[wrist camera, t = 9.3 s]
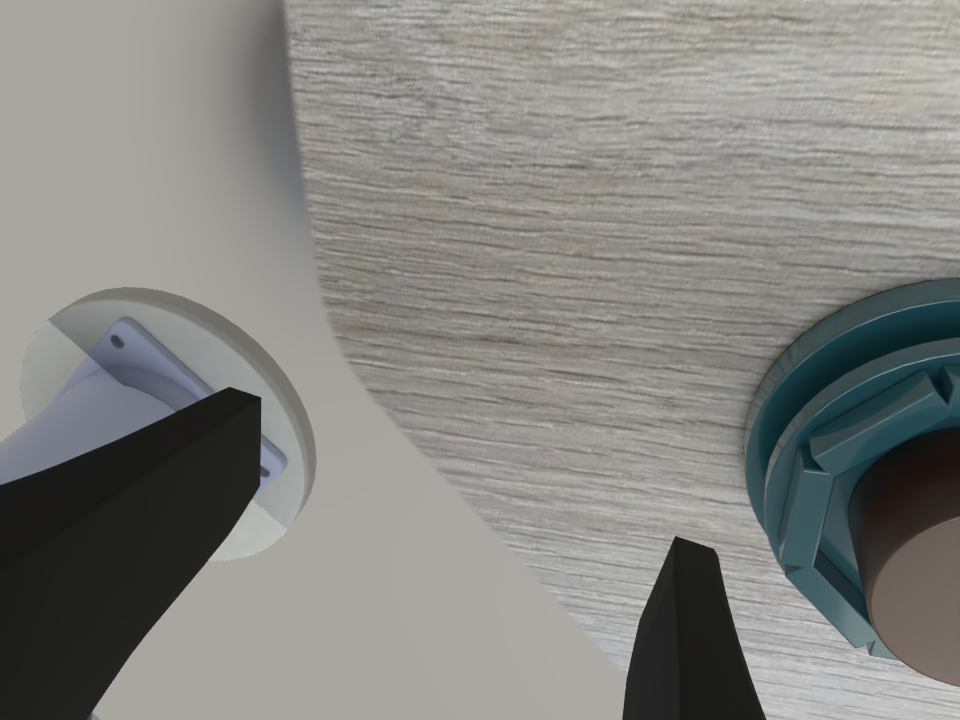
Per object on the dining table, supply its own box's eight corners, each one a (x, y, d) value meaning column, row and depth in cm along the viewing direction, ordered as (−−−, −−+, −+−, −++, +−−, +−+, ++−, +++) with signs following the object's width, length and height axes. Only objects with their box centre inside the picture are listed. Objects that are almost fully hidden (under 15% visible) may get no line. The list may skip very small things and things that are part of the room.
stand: (877, 630, 26) (903, 741, 22) (671, 415, 24) (665, 501, 20) (1238, 482, 21) (1344, 595, 17) (1015, 195, 19) (1084, 259, 15)
